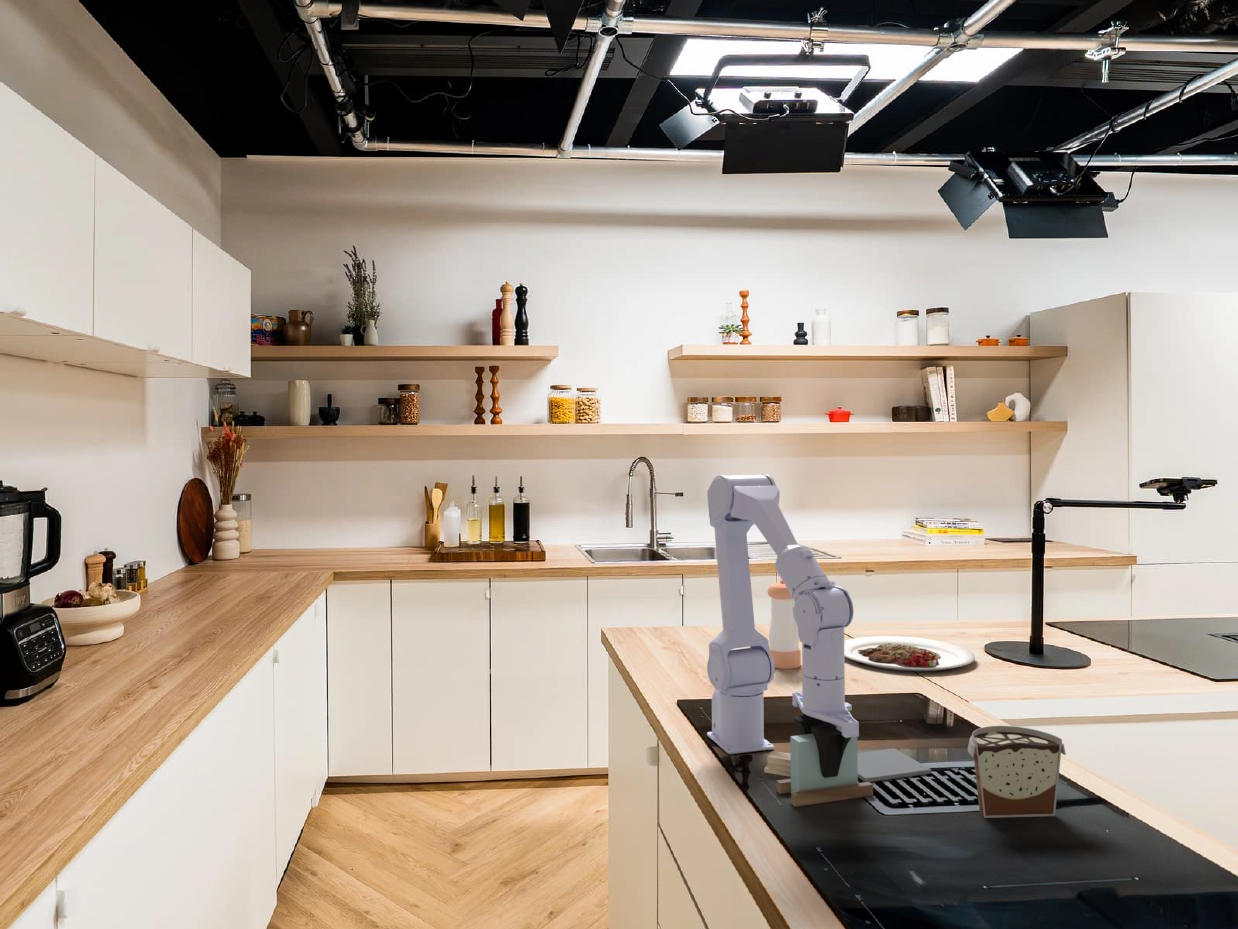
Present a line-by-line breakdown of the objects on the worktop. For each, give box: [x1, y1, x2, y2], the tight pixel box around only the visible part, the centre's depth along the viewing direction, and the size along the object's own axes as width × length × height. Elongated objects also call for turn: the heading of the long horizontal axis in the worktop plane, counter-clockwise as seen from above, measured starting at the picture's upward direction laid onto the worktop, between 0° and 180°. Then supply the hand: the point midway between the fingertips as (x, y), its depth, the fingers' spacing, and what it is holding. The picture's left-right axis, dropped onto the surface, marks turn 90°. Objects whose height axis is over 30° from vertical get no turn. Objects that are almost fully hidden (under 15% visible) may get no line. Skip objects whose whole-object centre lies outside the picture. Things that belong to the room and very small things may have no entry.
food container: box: [967, 725, 1067, 819], centre depth 108 cm, size 12×6×10 cm, turn 92°
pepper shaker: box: [767, 579, 802, 670], centre depth 182 cm, size 7×7×19 cm
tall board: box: [789, 734, 859, 794], centre depth 113 cm, size 2×9×8 cm, turn 106°
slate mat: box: [857, 748, 932, 783], centre depth 122 cm, size 9×11×1 cm
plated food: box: [844, 635, 976, 672], centre depth 187 cm, size 30×30×3 cm
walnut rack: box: [776, 778, 874, 807], centre depth 113 cm, size 5×12×2 cm, turn 106°
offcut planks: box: [763, 750, 791, 778], centre depth 120 cm, size 3×10×3 cm, turn 64°
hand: (824, 772), depth 113 cm, fingers closed on tall board, 2 cm apart
